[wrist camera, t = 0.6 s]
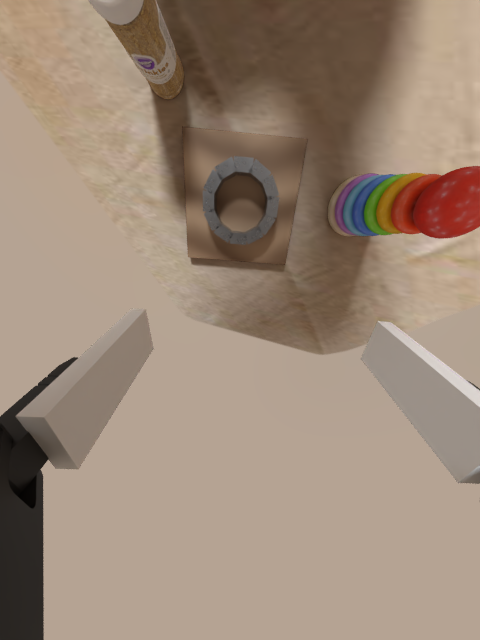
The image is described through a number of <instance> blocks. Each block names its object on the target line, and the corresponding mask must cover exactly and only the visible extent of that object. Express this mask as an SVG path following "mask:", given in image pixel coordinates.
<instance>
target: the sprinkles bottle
mask: <svg viewBox="0 0 480 640" xmlns="http://www.w3.org/2000/svg"><path fill="white" fill-rule="evenodd" d="M89 2H90V3H91V5H92V6H93V7H94V9H95V10H96V11H97V12H98V13H99V14H100V15H101V16H102V17H103V18H105V20H106V21H107V23H108V24H109V26H110V27H111V29H112V30H113V32H114V33H115V35H116V36H117V37H118V39H119V40H120V42H121V43H122V45H123V46H124V48H125V49H126V51H127V53H128V54H129V56H130V57H131V59H132V60H133V62H134V63H135V65H136V66H137V68H138V69H139V70H140V72H141V73H142V74H143V76H144V77H145V78H146V79H147V81H148V83H149V84H150V86H151V88H152V90H153V91H154V92H155V93H156V94H157V95H158V96H160V97H162V98H164V99H172V98H174V97H176V96H177V95H178V94H179V93H180V91H181V89H182V86H183V81H184V70H183V67H182V63H181V60H180V58H179V56H178V54H177V53H176V50H175V47H174V44H173V41H172V39H171V36H170V34H169V31H168V29H167V26H166V24H165V21H164V19H163V16H162V14H161V11H160V9H159V6H158V4H157V1H156V0H89Z"/></svg>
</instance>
